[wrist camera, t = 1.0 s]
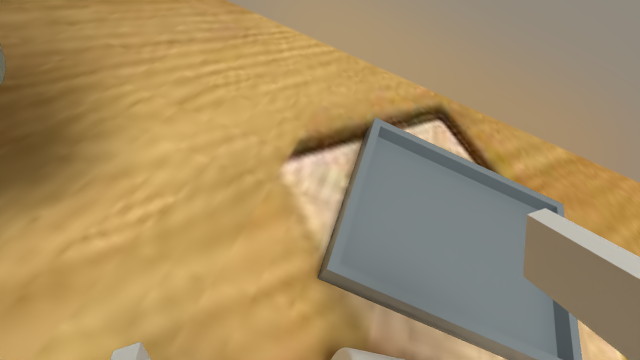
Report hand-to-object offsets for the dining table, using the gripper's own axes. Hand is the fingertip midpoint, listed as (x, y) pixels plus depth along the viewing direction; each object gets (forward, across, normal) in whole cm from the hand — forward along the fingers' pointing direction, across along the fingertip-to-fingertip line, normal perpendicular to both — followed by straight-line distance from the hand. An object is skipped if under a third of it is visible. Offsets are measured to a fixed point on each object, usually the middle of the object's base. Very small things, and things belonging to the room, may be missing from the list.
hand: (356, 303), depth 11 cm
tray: (+16, +13, -12) cm, 24 cm away
